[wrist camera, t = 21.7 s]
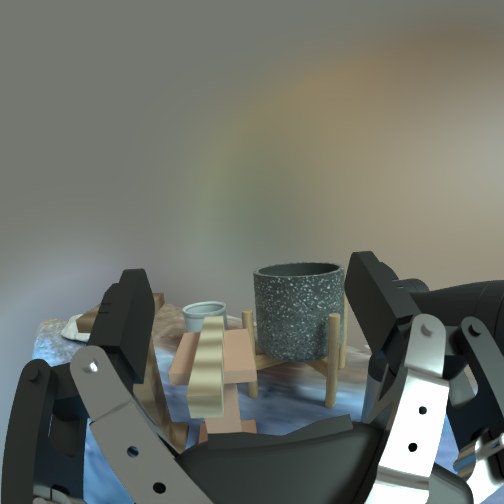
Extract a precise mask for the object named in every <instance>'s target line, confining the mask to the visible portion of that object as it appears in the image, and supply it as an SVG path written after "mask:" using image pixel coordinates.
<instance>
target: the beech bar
mask: <svg viewBox="0 0 504 504" xmlns="http://www.w3.org/2000/svg"><path fill="white" fill-rule="evenodd" d="M224 339H225V329H224V319H223V316H211V317H205V318H204V322H203V326H202V330H201V334H200V338H199V343H198V347H197V351H196V355H195V359H194V364H193V368H192V372H191V376H190V381H189V385H188V390H187V394H186V398H187V403H188V407H189V412H190V416H191V418H220V417H224Z"/></svg>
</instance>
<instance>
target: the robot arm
mask: <svg viewBox="0 0 504 504" xmlns="http://www.w3.org/2000/svg"><path fill="white" fill-rule="evenodd" d="M344 290H345V295H346V297H347V299H348V301H349V304H350V306H351V308H352V310H353V312H354V314H355V316H356V318H357V321H358V323H359V325H360V327H361V329H362V331H363V334H364V336H365V338H366V340H367V342H368V345H369V347H370V349H371V351H372V355H371V357H370V360H369V367H368V375H367V383H366V391H365V397H364V404H363V410H362V415H361V421H360V422H355V421H351V418H350V414H348V415H344V416H340V417H335V418H331V419H326V420H322V421H317V422H315V423H312V424H310V425H308V426H306V427H303V428H301V429H299V430H296V431H294V432H292V433H289V434H287V435H283V436H275V435H266V434H257V433H249V432H232V433H208V441H205V442H201V443H199V444H196V445H194V446H192V447H190V448H188V449H186V450H185V451H183V452H182V453H179V451H178V450H177V449H176V448H175V447H174V445H173V444H172V443H171V442H170V441H169V439H168V438H167V437H166V436H165V435H164V434H163V432H162V431H161V430H160V429H159V427H158V426H157V425H156V423H155V422H154V421H153V419H152V418H151V416H150V415H149V414H148V412H147V411H146V409H145V408H144V406H143V405H142V403H141V402H140V400H139V399H138V397H137V396H136V394H135V393H134V392H133V385H134V384H144V377H145V370H146V363H147V356H148V350H149V343H150V337H151V332H152V326H153V320H154V315H155V301H154V297H153V294H152V291H151V288H150V285H149V282H148V279H147V275H146V272H145V270H144V269H127V270H124V271H123V273H122V276H121V278H120V281H119V283H115V284H112V286H111V287H110V288H109V289H108V290H107V291H106V292H105V294H104V297H103V299H102V302H101V306H100V307H99V310H98V314H97V315H96V318H95V321H94V324H93V327H92V330H91V333H90V336H89V339H88V342H87V345H86V347H83V348H81V349H80V350H78V351H77V352H76V353H75V354H74V356H73V357H72V359H71V362H69V363H66V364H62V365H57V366H53V367H50V366H49V364H48V363H47V362H46V361H45V360H43V359H34V360H32V361H30V362H29V363H27V364H26V366H25V367H24V368H23V370H22V373H21V376H20V379H19V382H18V386H17V390H16V393H15V397H14V401H13V406H12V410H11V415H10V419H9V424H8V431H7V436H6V442H5V449H4V457H3V467H2V483H1V504H87V503H86V502H85V501H84V500H83V474H84V451H85V438H86V427H87V418H91V420H92V422H91V423H90V424H89V426H90V430H91V432H92V434H93V436H94V438H95V440H96V442H97V444H98V445H99V447H100V449H101V451H102V453H103V454H104V456H105V458H106V459H107V461H108V463H109V464H110V466H111V468H112V469H113V471H114V472H115V474H116V476H117V477H118V479H119V480H120V482H121V483H122V485H123V486H124V488H125V489H126V490H127V492H128V493H129V495H130V496H131V497H132V499H133V500H134V501H135V503H134V504H478V503H480V502H481V501H482V500H484V499H485V498H487V497H488V496H489V495H491V494H492V493H493V492H495V491H496V490H497V489H498V488H500V487H501V486H502V485H503V484H504V280H495V281H485V282H477V283H470V284H465V285H459V286H454V287H450V288H444V289H440V290H435V291H429V289H428V287H427V285H426V284H425V283H424V282H422V281H421V280H419V279H406V280H399V278H398V277H397V275H396V274H395V273H394V271H393V270H392V269H391V268H390V267H388V266H387V265H386V264H384V263H383V262H379V261H378V259H377V258H376V256H375V255H374V254H373V252H371V251H362V252H353V253H352V255H351V258H350V262H349V266H348V270H347V274H346V279H345V283H344ZM468 364H469V367H470V369H471V370H472V373H473V375H474V377H475V379H476V381H477V384H478V392H477V394H476V396H475V394H474V392H473V390H472V387H471V385H470V383H469V381H468V378H467V376H466V374H465V372H464V370H463V369H464V368H465V367H466V366H467V365H468ZM445 411H446V414H447V417H448V419H449V422H450V425H451V428H452V431H453V434H454V437H455V440H456V443H457V447H458V450H459V455H458V459H457V460H456V461H455V462H454V464H453V469H454V471H456V472H458V474H457V475H456V474H454V473H452V472H450V471H449V470H447V469H445V468H443V467H442V466H440V465H438V464H437V463H435V462H433V461H434V458H435V454H436V451H437V447H438V443H439V439H440V434H441V430H442V425H443V420H444V415H445ZM51 416H52V419H51ZM50 422H51V426H50ZM49 429H50V432H49Z"/></svg>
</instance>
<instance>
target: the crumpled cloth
mask: <svg viewBox="0 0 504 504" xmlns="http://www.w3.org/2000/svg"><path fill="white" fill-rule="evenodd" d="M80 316H82V315H81V314H80V315H76V316H72V317H71V318H70V320H69V322H68V324H67V325H66V327H65V328H64V329H63V330H62V332H61V334H62V335H63V336H64V337H66V338H68V339H71V340H80V341H83V342H88V339H89V336H90V333H78V329H77V325H76V319H77V318H79V317H80Z"/></svg>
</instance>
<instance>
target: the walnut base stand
mask: <svg viewBox="0 0 504 504" xmlns="http://www.w3.org/2000/svg"><path fill="white" fill-rule="evenodd" d="M152 294H153V297H154V301H155V314H156V313H157V312H158V311H159V310H160V308H161V307H162V306H163V305H164V303H165V302H164V293H152ZM100 306H101V304H99V305H98V306H96V307H95V308H93V309H91V310H90V311H88V312H87V313H85V314H84V315H82V316H80V317H79V318H77V319H76V325H77V329H78V333H91V330H92V327H93V324H94V321H95V318H96V315H97V314H98V310H99V307H100ZM154 316H155V315H154ZM133 392H134V393H135V394H136V396H137V397H138V399H139V400H140V402H141V403H142V405H143V406H144V408H145V409H146V411H147V412H148V414H149V415H150V416H151V418H152V419H153V421H154V422H155V423H156V425H157V426H158V427H159V429H160V430H161V431H162V432H163V434H164V435H165V436H166V437H167V438H168V439H169V441H170V442H171V443H172V444H173V445H174V447H175V448H176V449H177V450H178V451H179V453H182V452H183V451H185V448H186V442H187V436H188V430H189V426H188V423H178V422H172V421H171V418H170V414H169V410H168V407H167V403H166V399H165V395H164V391H163V387H162V383H161V379H160V374H159V370H158V365H157V361H156V356H155V351H154V346H153V340H152V335H151V337H150V343H149V350H148V356H147V363H146V370H145V377H144V384H134V385H133Z"/></svg>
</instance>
